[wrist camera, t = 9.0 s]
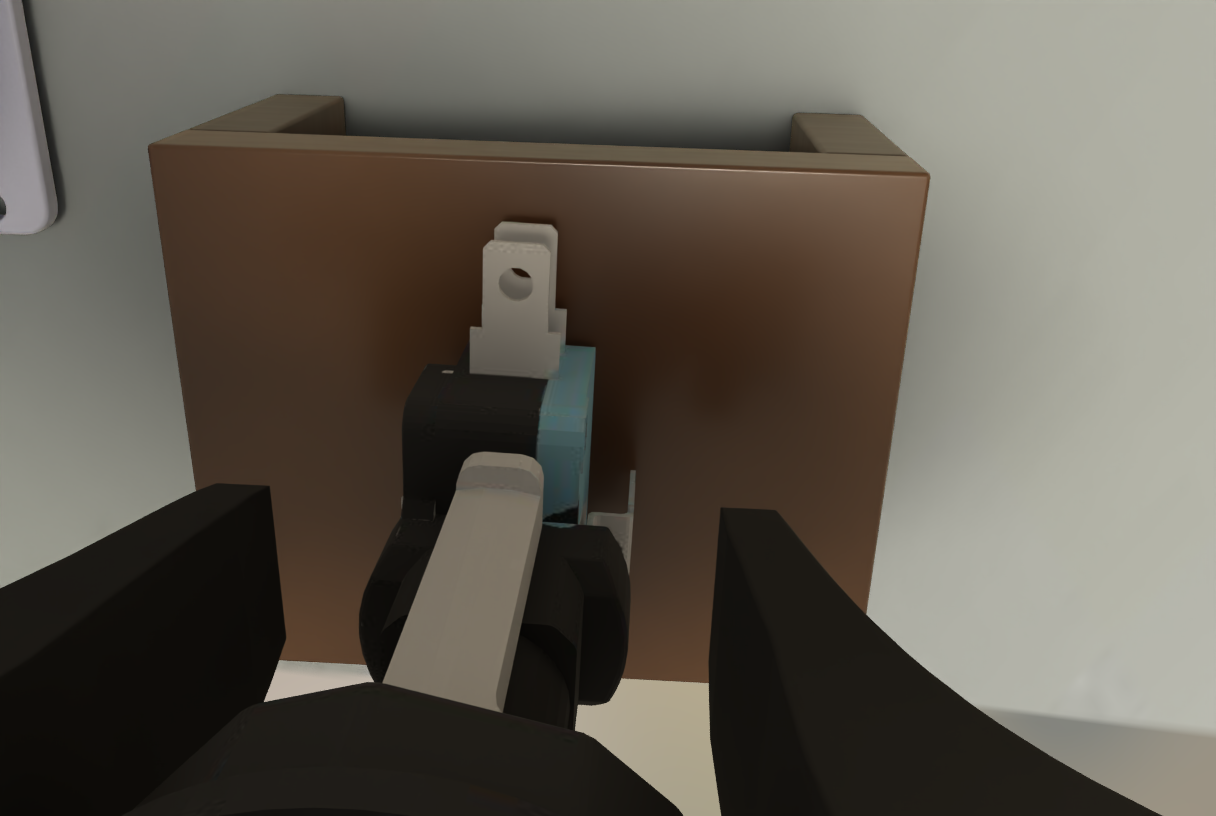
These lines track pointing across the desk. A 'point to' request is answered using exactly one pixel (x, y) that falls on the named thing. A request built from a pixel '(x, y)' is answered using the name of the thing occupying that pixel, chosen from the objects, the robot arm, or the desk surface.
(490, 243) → the push button
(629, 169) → the brown wooden bridge block
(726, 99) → the desk surface
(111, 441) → the desk surface
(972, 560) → the desk surface
